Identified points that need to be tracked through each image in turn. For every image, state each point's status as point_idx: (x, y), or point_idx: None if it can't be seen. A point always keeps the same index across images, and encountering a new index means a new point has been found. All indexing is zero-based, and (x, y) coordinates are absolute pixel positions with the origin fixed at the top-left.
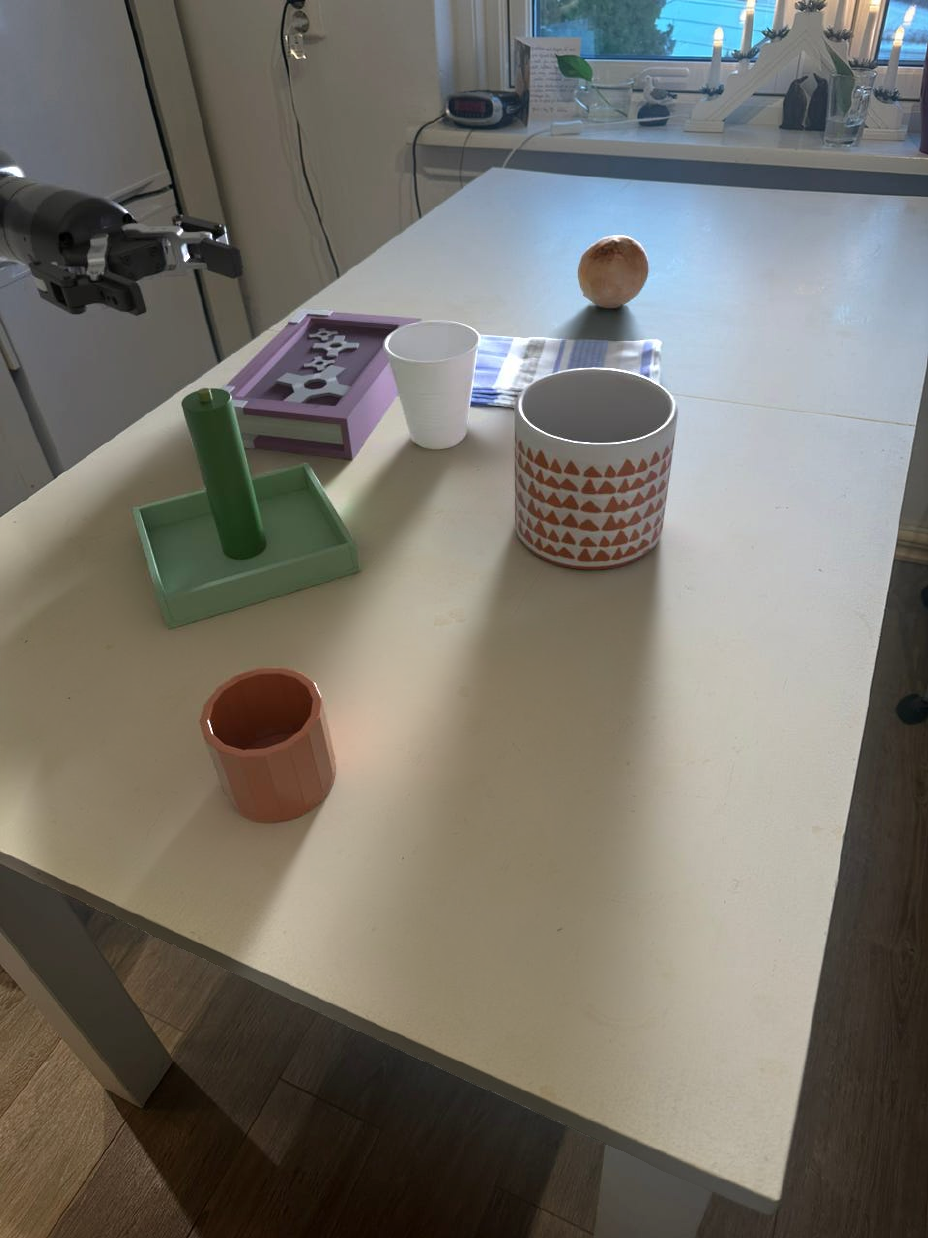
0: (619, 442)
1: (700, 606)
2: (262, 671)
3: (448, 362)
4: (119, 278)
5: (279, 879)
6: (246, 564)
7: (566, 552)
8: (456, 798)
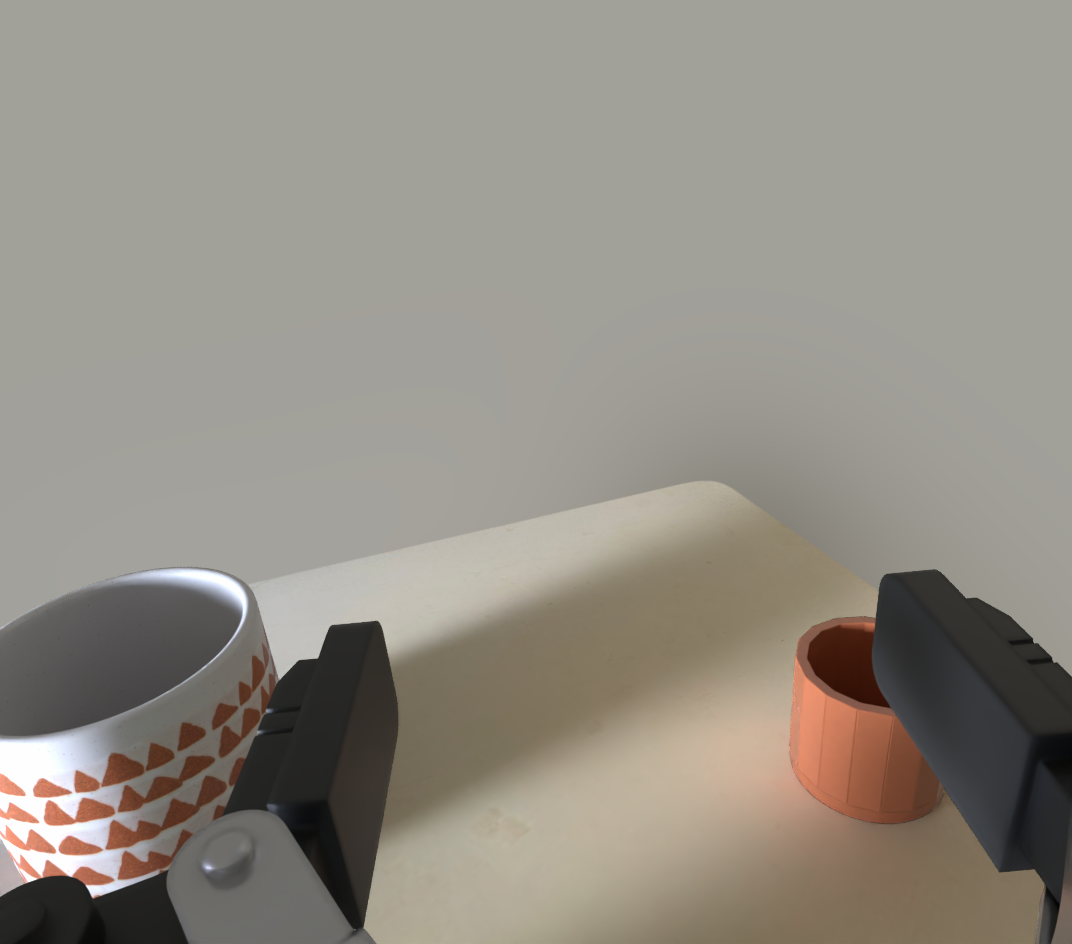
0: (224, 576)
1: None
2: (853, 701)
3: None
4: (972, 634)
5: None
6: None
7: None
8: (700, 652)
